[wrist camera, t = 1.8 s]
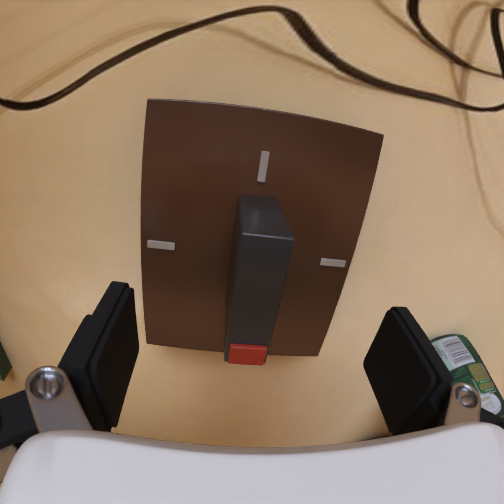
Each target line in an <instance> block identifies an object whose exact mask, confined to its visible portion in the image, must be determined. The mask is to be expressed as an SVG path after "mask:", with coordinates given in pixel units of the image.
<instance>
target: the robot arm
mask: <svg viewBox="0 0 504 504" xmlns="http://www.w3.org/2000/svg"><path fill="white" fill-rule="evenodd" d="M138 352H139V340H138V331H137V321H136V311H135V298H134V289H133V288H129V284H128V283H123V282H116V281H112V282H111V284H110V285H109V287H108V288H107V290H106V292H105V294H104V295H103V297H102V299H101V300H100V302H99V304H98V305H97V307H96V309H95V311H94V312H93V314H92V315H89V314H88V315H86V316H85V318H84V319H83V321H82V323H81V324H80V326H79V328H78V330H77V331H76V333H75V335H74V337H73V338H72V340H71V342H70V344H69V346H68V348H67V349H66V351H65V353H64V355H63V357H62V359H61V361H60V363H59V365H58V367H55V366H42V367H39V368H37V369H35V370H34V371H32V372H31V373H30V374H29V376H28V377H27V379H26V382H25V390H23V391H20V392H18V393H15V394H13V395H10V396H7V397H5V398H2V399H0V484H1V483H2V485H1V488H0V504H504V419H503V418H501V417H499V416H497V415H495V414H493V413H492V412H490V411H488V410H486V409H484V408H482V407H481V398H480V395H479V393H478V392H477V390H476V389H474V388H473V387H472V386H471V385H469V384H466V383H456V384H455V385H454V386H453V387H452V386H451V382H452V381H453V379H454V378H453V376H452V374H451V373H450V371H449V369H448V368H447V366H446V365H445V363H444V362H443V360H442V358H441V357H440V355H439V354H438V352H437V351H436V349H435V348H434V346H433V345H432V343H431V342H430V340H429V339H428V337H427V336H426V334H425V333H424V331H423V330H422V328H421V327H420V325H419V324H418V323H417V321H416V320H415V318H414V317H413V315H412V314H411V313H410V311H409V310H408V309H407V308H406V307H392V308H391V309H390V310H388V311H387V312H386V314H385V316H384V319H383V321H382V323H381V325H380V328H379V330H378V332H377V334H376V336H375V338H374V340H373V342H372V345H371V347H370V349H369V351H368V353H367V355H366V357H365V359H364V363H363V366H364V369H365V372H366V374H367V377H368V379H369V382H370V384H371V386H372V389H373V391H374V394H375V396H376V399H377V401H378V404H379V406H380V409H381V412H382V414H383V417H384V419H385V422H386V425H387V427H388V430H389V432H390V433H393V436H391V437H385V438H379V439H373V440H366V441H358V442H350V443H341V444H331V445H318V446H302V447H229V446H213V445H200V444H190V443H181V442H172V441H164V440H156V439H149V438H143V437H137V436H131V435H124V434H117V433H111V428H112V427H115V428H116V427H117V424H118V421H119V417H120V414H121V410H122V406H123V403H124V399H125V396H126V392H127V389H128V385H129V382H130V379H131V375H132V372H133V369H134V366H135V362H136V359H137V356H138ZM4 476H5V477H4Z"/></svg>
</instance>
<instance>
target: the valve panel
mask: <svg viewBox="0 0 504 504" xmlns="http://www.w3.org/2000/svg"><path fill="white" fill-rule="evenodd" d="M383 137H384V135H383V134H380V133H376V132H372V131H369V130H365V129H361V128H357V127H353V126H349V125H345V124H341V123H337V122H332V121H328V120H323V119H319V118H314V117H309V116H304V115H299V114H293V113H288V112H282V111H276V110H270V109H263V108H256V107H249V106H241V105H233V104H224V103H214V102H203V101H189V100H172V99H148V100H147V109H146V119H145V130H144V143H143V159H142V180H141V269H142V291H143V307H144V320H145V332H146V342H147V344H154V345H161V346H169V347H177V348H186V349H196V350H206V351H217V352H224V332H225V299H226V291H227V282H228V274H229V266H230V258H231V250H232V243H233V235H234V227H235V220H236V212H237V205H238V197H239V195H240V194H242V195H251V196H259V197H267V198H274V199H277V200H278V202H279V204H280V207H281V209H282V211H283V213H284V216H285V218H286V220H287V223H288V225H289V227H290V230H291V232H292V234H293V237H294V240H295V241H294V245H293V250H292V254H291V259H290V263H289V267H288V272H287V276H286V281H285V285H284V289H283V293H282V298H281V302H280V306H279V310H278V314H277V318H276V323H275V327H274V331H273V335H272V339H271V343H270V347H269V350H268V354H267V355H281V356H318V354H319V352H320V349H321V346H322V344H323V341H324V339H325V336H326V333H327V331H328V328H329V325H330V323H331V320H332V317H333V314H334V311H335V309H336V306H337V303H338V300H339V297H340V294H341V291H342V288H343V285H344V282H345V279H346V276H347V273H348V270H349V267H350V264H351V260H352V257H353V254H354V251H355V247H356V244H357V241H358V237H359V234H360V230H361V227H362V223H363V220H364V216H365V212H366V209H367V205H368V201H369V197H370V193H371V190H372V186H373V181H374V177H375V173H376V169H377V165H378V160H379V156H380V151H381V147H382V142H383Z"/></svg>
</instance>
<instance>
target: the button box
mask: <svg viewBox="0 0 504 504" xmlns="http://www.w3.org/2000/svg"><path fill="white" fill-rule="evenodd" d="M11 368H12V367H11V365H10V363H9V360H8V358H7V356H6V354H5V352H4V350H3V348H2V345H1V343H0V380H2V381H4V380H5V378H6V377H7V375H8V373H9V371H10V370H11Z"/></svg>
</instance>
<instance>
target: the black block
mask: <svg viewBox="0 0 504 504" xmlns="http://www.w3.org/2000/svg"><path fill="white" fill-rule="evenodd" d="M294 241H295V240H294V237H293V234H292V232H291V230H290V227H289V225H288V223H287V220H286V218H285V216H284V213H283V211H282V209H281V207H280V204H279V202H278V200H277V199H274V198H267V197H259V196H251V195H242V194H240V195H239V197H238V205H237V212H236V220H235V227H234V235H233V243H232V250H231V258H230V266H229V274H228V282H227V291H226V299H225V332H224V361H226V362H228V363H232V364H247V365H263V364H265V362H266V358H267V354H268V350H269V347H270V343H271V339H272V335H273V331H274V327H275V323H276V318H277V314H278V310H279V306H280V302H281V298H282V293H283V289H284V285H285V281H286V276H287V272H288V267H289V263H290V259H291V254H292V250H293V245H294Z"/></svg>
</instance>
